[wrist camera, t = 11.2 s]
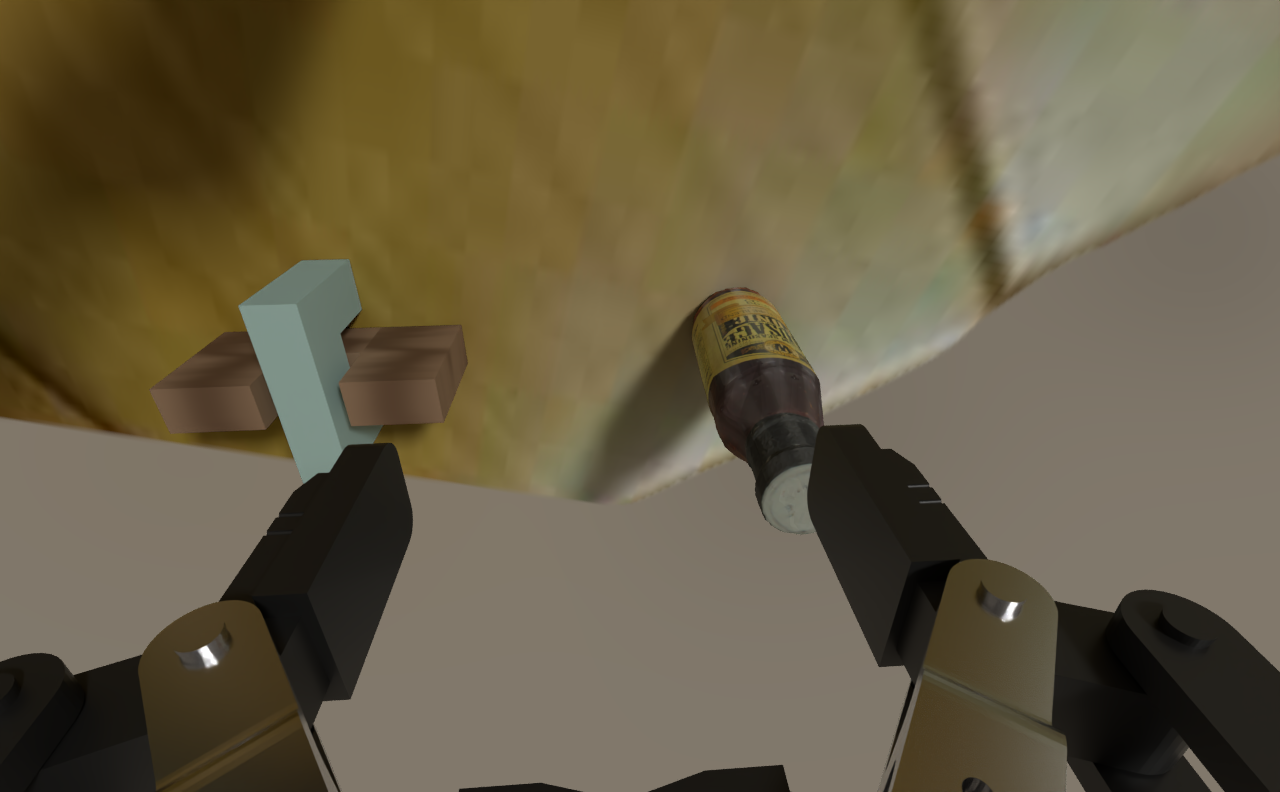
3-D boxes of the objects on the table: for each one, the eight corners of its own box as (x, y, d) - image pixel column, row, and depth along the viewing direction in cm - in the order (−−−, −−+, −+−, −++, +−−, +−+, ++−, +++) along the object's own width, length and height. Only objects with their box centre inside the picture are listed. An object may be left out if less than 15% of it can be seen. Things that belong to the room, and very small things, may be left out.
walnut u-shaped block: (239, 371, 42) (170, 433, 35) (224, 332, 41) (149, 389, 34) (467, 363, 43) (443, 422, 36) (461, 325, 42) (434, 379, 35)
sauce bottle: (787, 293, 42) (919, 459, 25) (755, 369, 45) (855, 564, 28) (699, 271, 41) (776, 430, 24) (673, 351, 44) (724, 544, 27)
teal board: (301, 260, 39) (238, 305, 32) (349, 259, 39) (296, 304, 32) (348, 416, 45) (303, 483, 38) (388, 415, 45) (351, 481, 38)
